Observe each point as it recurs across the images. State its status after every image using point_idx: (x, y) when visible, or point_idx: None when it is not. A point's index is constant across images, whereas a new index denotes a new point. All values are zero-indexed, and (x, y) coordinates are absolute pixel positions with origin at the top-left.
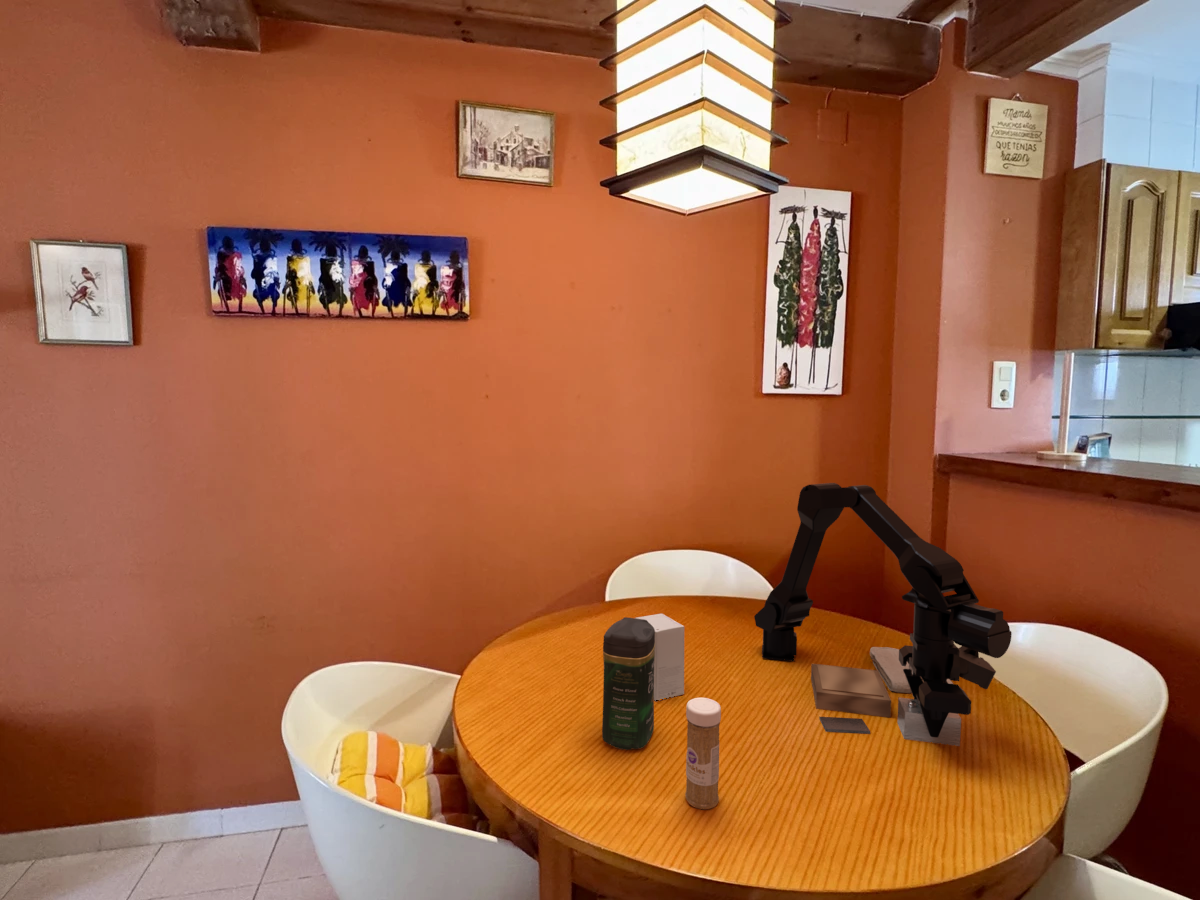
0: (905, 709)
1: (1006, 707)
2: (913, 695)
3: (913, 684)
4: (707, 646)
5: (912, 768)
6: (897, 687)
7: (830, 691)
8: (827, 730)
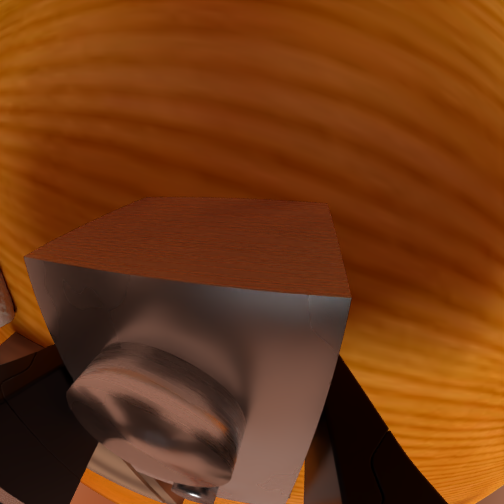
0: (254, 502)
1: (6, 10)
2: (95, 446)
3: (61, 485)
4: (86, 469)
5: (463, 407)
6: (2, 310)
7: (163, 497)
8: (290, 494)
